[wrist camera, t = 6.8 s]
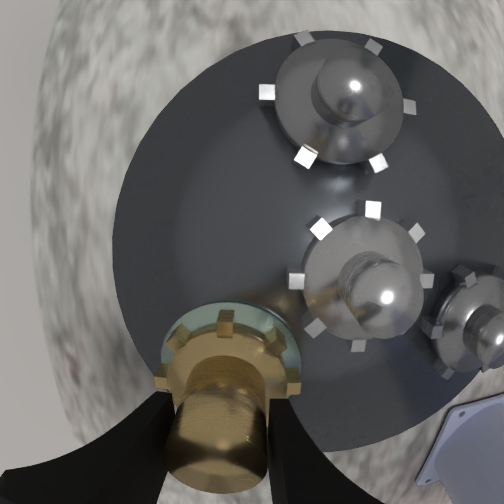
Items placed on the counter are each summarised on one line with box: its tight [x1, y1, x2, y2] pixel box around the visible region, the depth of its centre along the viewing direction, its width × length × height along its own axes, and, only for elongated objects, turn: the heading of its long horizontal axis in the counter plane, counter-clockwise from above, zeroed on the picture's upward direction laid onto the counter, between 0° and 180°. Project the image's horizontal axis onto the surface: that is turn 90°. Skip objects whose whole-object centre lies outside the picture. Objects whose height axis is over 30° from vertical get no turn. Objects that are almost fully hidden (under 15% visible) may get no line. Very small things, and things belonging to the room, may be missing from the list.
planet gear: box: [154, 309, 301, 494], centre depth 11 cm, size 6×6×6 cm
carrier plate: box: [112, 30, 504, 452], centre depth 12 cm, size 21×21×5 cm
